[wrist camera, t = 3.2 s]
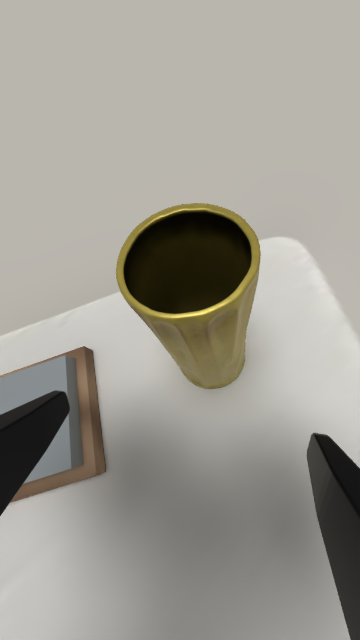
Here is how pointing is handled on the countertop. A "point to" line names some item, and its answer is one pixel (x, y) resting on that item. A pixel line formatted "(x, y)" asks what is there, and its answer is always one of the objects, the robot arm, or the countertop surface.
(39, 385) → the top brick
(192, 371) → the vase
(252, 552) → the countertop surface
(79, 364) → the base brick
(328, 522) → the robot arm
